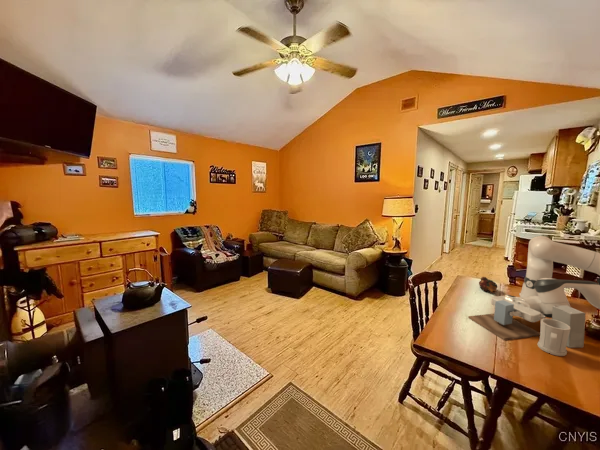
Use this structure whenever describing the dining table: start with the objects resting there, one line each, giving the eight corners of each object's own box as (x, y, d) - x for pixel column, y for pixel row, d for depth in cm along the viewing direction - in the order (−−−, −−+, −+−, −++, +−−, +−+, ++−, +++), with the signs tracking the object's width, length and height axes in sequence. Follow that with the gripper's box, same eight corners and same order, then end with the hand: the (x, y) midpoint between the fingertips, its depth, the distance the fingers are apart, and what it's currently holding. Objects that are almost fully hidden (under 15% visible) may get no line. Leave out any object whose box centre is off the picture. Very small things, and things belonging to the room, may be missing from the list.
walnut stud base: (500, 314, 136) (502, 302, 135) (540, 335, 116) (542, 322, 115) (468, 317, 133) (469, 306, 132) (503, 340, 113) (505, 326, 112)
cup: (576, 360, 100) (580, 333, 98) (549, 358, 101) (553, 330, 100) (555, 344, 110) (559, 319, 108) (531, 342, 112) (534, 317, 110)
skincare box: (583, 348, 107) (589, 313, 105) (566, 348, 107) (571, 313, 105) (563, 336, 115) (568, 304, 113) (547, 336, 115) (552, 304, 113)
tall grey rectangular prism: (501, 318, 127) (503, 300, 126) (511, 323, 122) (513, 304, 121) (493, 319, 126) (495, 301, 125) (503, 325, 121) (505, 305, 120)
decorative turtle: (487, 286, 173) (489, 275, 172) (502, 297, 159) (504, 285, 157) (472, 285, 174) (474, 274, 173) (486, 296, 160) (488, 284, 158)
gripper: (547, 323, 117) (524, 327, 114) (503, 304, 136) (482, 307, 133) (549, 310, 116) (526, 314, 113) (504, 293, 136) (483, 296, 132)
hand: (502, 310), depth 123 cm, fingers closed on tall grey rectangular prism, 5 cm apart
